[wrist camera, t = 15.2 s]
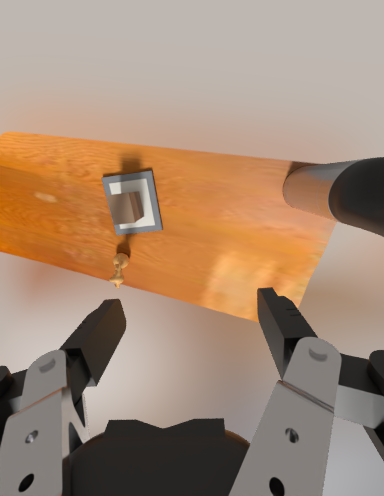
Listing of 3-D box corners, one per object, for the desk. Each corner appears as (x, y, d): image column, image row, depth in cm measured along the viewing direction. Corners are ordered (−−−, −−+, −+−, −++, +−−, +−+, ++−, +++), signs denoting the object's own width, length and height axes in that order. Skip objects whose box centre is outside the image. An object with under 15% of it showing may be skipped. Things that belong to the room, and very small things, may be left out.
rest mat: (152, 170, 45) (151, 170, 44) (162, 229, 49) (161, 230, 48) (103, 177, 46) (101, 177, 45) (117, 234, 50) (116, 235, 50)
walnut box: (139, 190, 45) (128, 192, 39) (144, 216, 47) (135, 222, 41) (120, 192, 46) (106, 195, 39) (126, 218, 48) (114, 225, 41)
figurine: (118, 242, 51) (93, 260, 40) (140, 247, 51) (122, 266, 40) (115, 269, 54) (92, 293, 43) (136, 274, 54) (119, 299, 43)
